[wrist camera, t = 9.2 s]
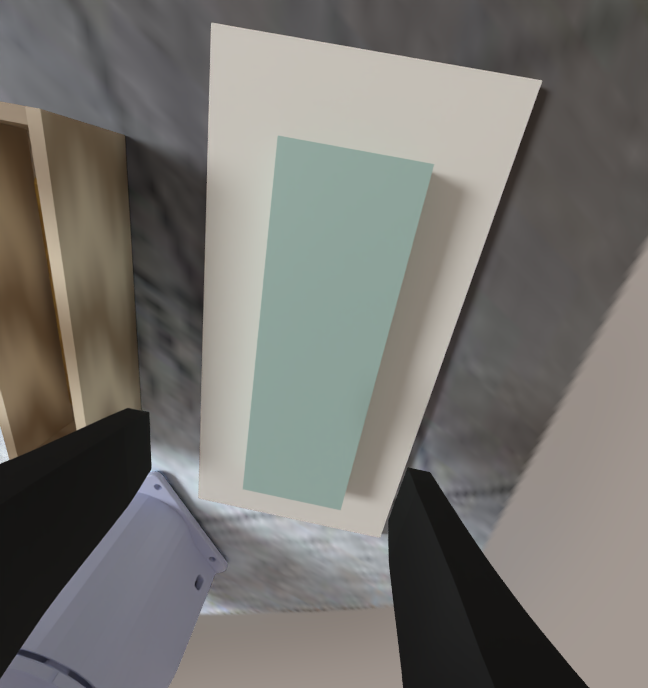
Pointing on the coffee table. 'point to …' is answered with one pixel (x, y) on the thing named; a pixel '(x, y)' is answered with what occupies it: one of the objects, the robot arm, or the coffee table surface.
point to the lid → (326, 311)
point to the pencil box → (63, 278)
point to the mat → (426, 253)
